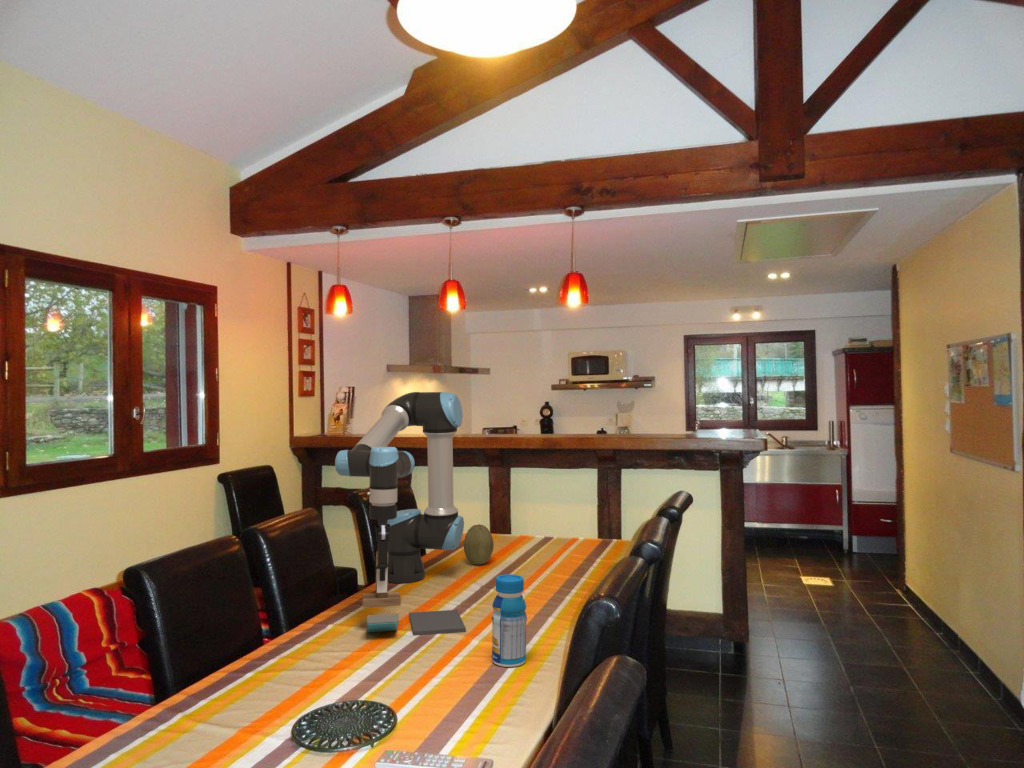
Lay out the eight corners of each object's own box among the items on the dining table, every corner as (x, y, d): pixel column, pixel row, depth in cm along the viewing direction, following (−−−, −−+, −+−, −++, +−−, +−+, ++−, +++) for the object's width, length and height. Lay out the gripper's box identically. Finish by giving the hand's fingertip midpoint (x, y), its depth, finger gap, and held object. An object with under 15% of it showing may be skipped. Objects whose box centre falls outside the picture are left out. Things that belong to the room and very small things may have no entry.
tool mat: (408, 616, 195) (408, 612, 195) (457, 613, 198) (457, 609, 198) (413, 635, 180) (413, 631, 180) (465, 631, 183) (465, 628, 183)
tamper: (362, 601, 187) (363, 550, 187) (399, 599, 189) (400, 548, 189) (362, 607, 181) (363, 554, 181) (400, 605, 183) (401, 553, 183)
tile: (366, 624, 183) (367, 615, 176) (396, 622, 185) (398, 613, 177) (366, 633, 182) (367, 624, 174) (396, 631, 184) (398, 622, 176)
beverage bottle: (514, 671, 157) (515, 584, 157) (484, 663, 162) (485, 578, 162) (532, 659, 164) (533, 576, 165) (503, 652, 169) (504, 571, 169)
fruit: (499, 563, 258) (499, 523, 258) (482, 569, 249) (482, 528, 249) (474, 559, 264) (475, 520, 265) (457, 565, 255) (457, 525, 255)
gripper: (368, 499, 193) (367, 583, 192) (369, 508, 177) (367, 599, 176) (395, 499, 194) (394, 581, 194) (398, 508, 179) (397, 598, 178)
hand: (381, 590), depth 185 cm, fingers closed on tamper, 3 cm apart
